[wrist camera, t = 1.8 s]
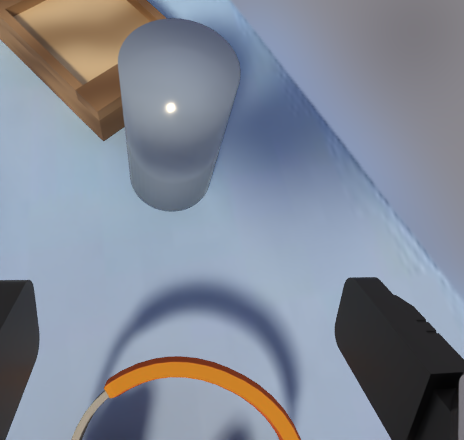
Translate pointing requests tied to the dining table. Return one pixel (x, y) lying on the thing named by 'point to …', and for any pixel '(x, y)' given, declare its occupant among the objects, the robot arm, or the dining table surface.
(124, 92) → the grey domed cylinder
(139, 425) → the dining table surface
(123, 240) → the dining table surface
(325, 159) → the dining table surface
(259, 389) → the headphones
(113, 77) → the wooden tray
